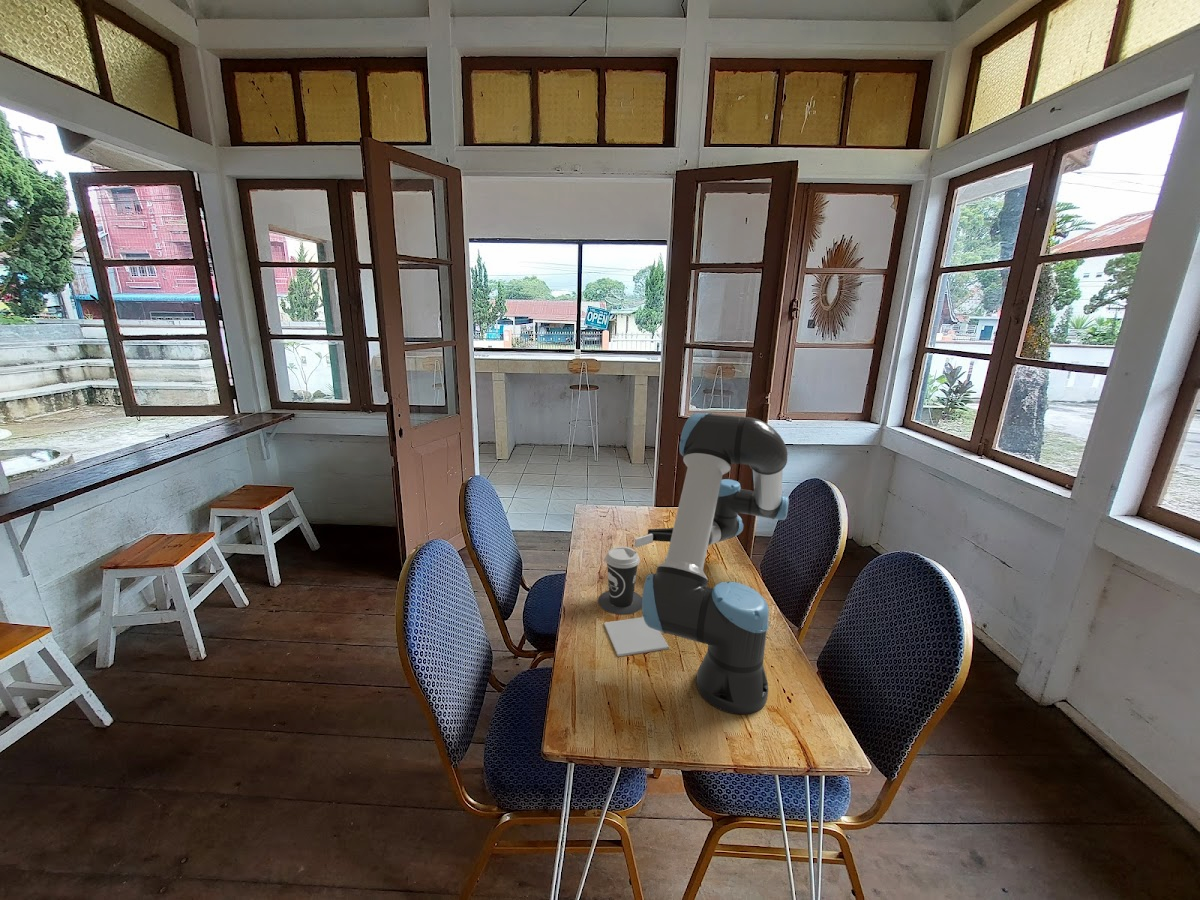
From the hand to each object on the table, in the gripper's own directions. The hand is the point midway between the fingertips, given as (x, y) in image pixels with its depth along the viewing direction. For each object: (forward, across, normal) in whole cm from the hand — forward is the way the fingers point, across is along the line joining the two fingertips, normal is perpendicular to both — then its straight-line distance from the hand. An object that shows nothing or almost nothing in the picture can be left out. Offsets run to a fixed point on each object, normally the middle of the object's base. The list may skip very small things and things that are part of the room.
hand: (649, 552), depth 143 cm
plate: (+16, -15, -12) cm, 25 cm away
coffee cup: (+10, 0, -12) cm, 16 cm away
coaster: (+10, 0, -12) cm, 16 cm away
